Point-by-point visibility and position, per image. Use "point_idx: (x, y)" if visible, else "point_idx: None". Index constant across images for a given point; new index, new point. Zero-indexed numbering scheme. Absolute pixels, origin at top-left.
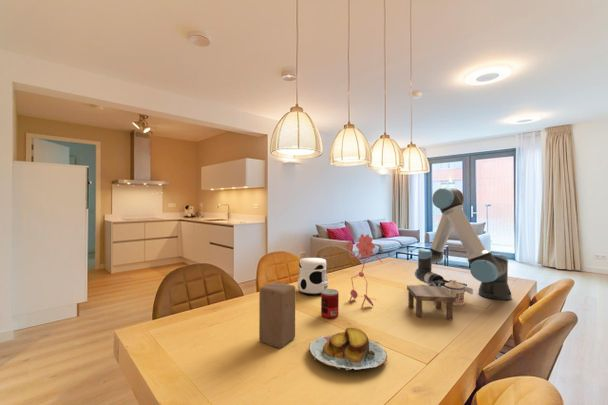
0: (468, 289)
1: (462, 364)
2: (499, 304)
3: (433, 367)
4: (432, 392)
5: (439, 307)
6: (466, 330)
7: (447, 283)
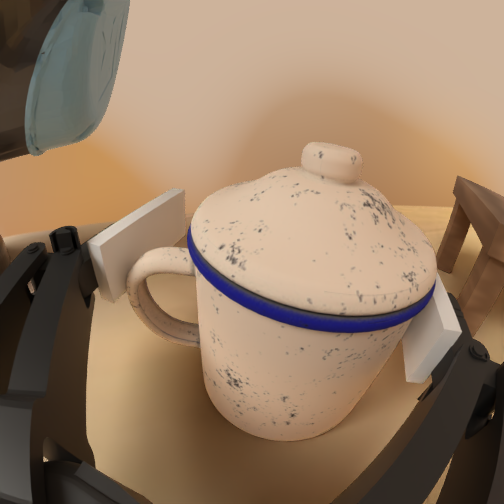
0: (164, 221)
1: None
2: None
3: None
4: None
5: None
6: (424, 227)
7: (405, 241)
